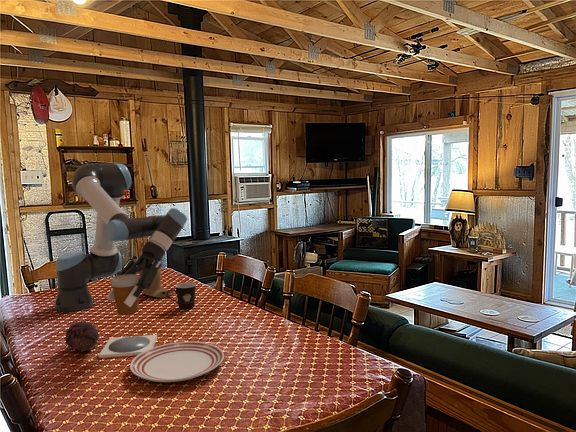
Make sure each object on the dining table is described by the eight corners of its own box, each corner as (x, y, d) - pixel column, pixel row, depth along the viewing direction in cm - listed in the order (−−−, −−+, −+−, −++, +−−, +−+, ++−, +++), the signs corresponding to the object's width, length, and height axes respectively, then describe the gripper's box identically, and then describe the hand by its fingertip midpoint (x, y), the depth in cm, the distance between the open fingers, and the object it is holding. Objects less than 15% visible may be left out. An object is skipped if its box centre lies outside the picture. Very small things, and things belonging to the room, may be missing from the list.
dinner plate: (149, 349, 144) (149, 339, 143) (231, 348, 143) (230, 339, 143) (114, 391, 117) (113, 379, 116) (214, 391, 116) (214, 380, 115)
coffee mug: (199, 304, 189) (198, 282, 188) (193, 311, 180) (192, 288, 179) (173, 304, 190) (172, 282, 189) (166, 310, 182) (165, 287, 180)
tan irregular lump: (135, 295, 205) (134, 264, 203) (158, 289, 213) (157, 260, 212) (151, 301, 194) (149, 269, 193) (174, 295, 203) (173, 264, 201)
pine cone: (105, 356, 138) (103, 326, 137) (71, 365, 132) (69, 333, 131) (93, 339, 152) (91, 311, 151) (62, 346, 146) (60, 318, 145)
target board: (98, 358, 137) (98, 354, 137) (110, 340, 151) (110, 337, 150) (150, 354, 139) (150, 350, 139) (157, 337, 153) (157, 334, 153)
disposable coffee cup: (148, 309, 146) (146, 274, 145) (130, 318, 138) (127, 282, 136) (126, 306, 150) (123, 273, 148) (106, 315, 141) (103, 280, 139)
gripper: (183, 256, 147) (146, 314, 136) (144, 249, 160) (108, 302, 149) (170, 243, 142) (130, 302, 132) (131, 237, 155) (92, 290, 145)
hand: (118, 302), depth 141 cm, fingers closed on disposable coffee cup, 9 cm apart
